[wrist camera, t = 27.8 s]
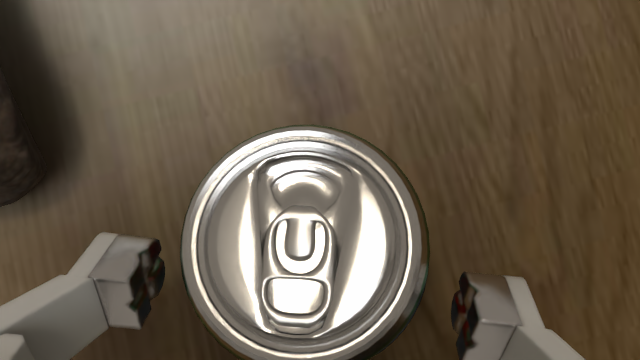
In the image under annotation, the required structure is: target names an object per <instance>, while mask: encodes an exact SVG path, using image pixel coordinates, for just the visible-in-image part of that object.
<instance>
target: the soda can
mask: <svg viewBox="0 0 640 360" xmlns="http://www.w3.org/2000/svg"><path fill="white" fill-rule="evenodd" d="M429 257H430V245H429V231H428V227H427V222H426V218H425V213H424V211H423V208H422V205H421V203H420V200H419V198H418V195H417V193H416V192H415V190H414V188H413V186H412V185H411V183H410V181H409V180H408V178H407V177H406V175H405V174H404V173H403V172H402V170H401V169H400V168H399V167H398V166H397V164H396V163H395V162H394V161H393V160H392V159H390V158H389V157H388V156H387V155H386V154H385V153H384V152H383V151H382V150H380V149H379V148H377V147H376V146H374V145H373V144H371V143H370V142H368V141H367V140H365V139H362V138H360V137H358V136H356V135H354V134H352V133H350V132H346V131H343V130H339V129H336V128H332V127H326V126H319V125H292V126H286V127H280V128H275V129H272V130H269V131H266V132H263V133H260V134H257V135H255V136H253V137H251V138H249V139H247V140H245V141H243V142H242V143H240V144H239V145H237V146H236V147H234V148H233V149H232V150H230V151H229V152H227V153H226V154H225V155H224V156H223V157H222V158H221V159H220V160H219V161H218V162H217V163H216V164H215V165H214V166H213V167H212V168H211V169H210V171H209V172H208V173H207V174H206V176H205V177H204V178H203V180H202V181H201V182H200V184H199V186H198V188H197V190H196V192H195V193H194V195H193V197H192V199H191V202H190V204H189V207H188V210H187V213H186V215H185V219H184V224H183V229H182V234H181V247H180V260H181V269H182V277H183V280H184V284H185V288H186V291H187V295H188V297H189V299H190V302H191V304H192V306H193V308H194V310H195V313H196V314H197V316H198V317H199V319H200V320H201V322H202V323H203V325H204V326H205V328H206V329H207V331H208V332H209V333H210V334H211V335H212V336H213V337H214V338H215V339H216V340H217V342H218V343H219V344H220V345H221V346H223V347H224V348H225V349H227V350H228V351H229V352H230V353H232V354H233V355H234V356H236V357H237V358H239V359H241V360H368V359H369V358H371V357H373V356H375V355H376V354H377V353H378V352H379V351H381V350H382V349H383V348H384V347H386V346H387V345H388V344H389V343H390V342H391V341H392V340H393V339H394V338H395V337H396V336H397V335H398V334H399V333H400V331H401V330H402V329H403V328H404V327H405V325H406V323H407V322H408V320H409V319H410V317H411V316H412V314H413V313H414V311H415V309H416V307H417V304H418V302H419V300H420V298H421V295H422V293H423V290H424V286H425V282H426V278H427V274H428V267H429Z"/></svg>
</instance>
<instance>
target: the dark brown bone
mask: <svg viewBox="0 0 640 360" xmlns="http://www.w3.org/2000/svg"><path fill="white" fill-rule="evenodd" d="M45 173H46V164H45V161H44V159H43V157H42V155H41V153H40V151H39V149H38V147H37V145H36V143H35V141H34V139H33V137H32V135H31V133H30V131H29V129H28V127H27V124H26V122H25V121H24V119H23V117H22V115H21V112H20V110H19V108H18V106H17V103H16V102H15V100H14V98H13V95H12V93H11V91H10V89H9V86H8V84H7V82H6V80H5V77H4V75H3V72H2V69H1V67H0V207H2V206H5V205H8V204H11V203H14V202H15V201H17V200H19V199H20V198H22V197H23V196H24V195H26V194H27V193H28V192H29V191H30V190H31V189H33V188H34V187H35V186H36V184H37V183H38V182H39V181H40V180H41V179H42V178H43V176H44V175H45Z"/></svg>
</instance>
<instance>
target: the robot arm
mask: <svg viewBox="0 0 640 360" xmlns="http://www.w3.org/2000/svg"><path fill="white" fill-rule="evenodd" d="M160 251H161V245H160V241H159V240H158V239H155V238H148V237H140V236H132V235H125V234H114V233H107V232H102V233H100V234H98V235H97V236H96V237H95V239H94V240H93V241H92V242H91V244H90V245H89V246H88V248H87V249H86V250H85V251H84V253H83V254H82V255H81V257H80V258H79V259H78V260H77V262H76V263H75V264H74V266H73V267H72V268H71V270H70V271H69V272H68V273H67V275H59V276H57V277H55V278H53V279H51V280H50V281H48V282H46V283H44V284H42V285H40V286H38V287H36V288H34V289H32V290H30V291H29V292H27V293H25V294H23V295H21V296H19V297H17V298H15V299H13V300H11V301H10V302H8V303H6V304H4V305H2V306H0V360H70V359H71V358H72V357H73V356H75V355H76V354H77V353H78V352H80V351H81V350H82V349H83V348H85V347H86V346H87V345H88V344H90V343H91V342H92V341H94V340H95V339H96V338H97V337H99V336H100V335H101V334H102V333H104V332H105V331H106V330H107V329H109V327H119V328H131V329H141V328H142V326H143V324H144V322H145V320H146V318H147V316H148V314H149V312H150V310H151V305H150V300H152V299H153V298H155V297H156V296H158V295H159V292H160V290H161V288H162V286H163V282H164V278H165V265H164V261H163V260H162V259H161V258H160V257H159V256H158V255H159V253H160ZM459 285H460V290H459V291H458V292H456V293H455V294H454V298H453V301H452V308H451V319H452V326H453V329H454V330H455V331H456V333H457V334H458V335H459V337H458V339H457V342H456V347H457V351H458V356H459V360H585V359H584V358H583V357H582V356H581V355H580V354H579V353H577V352H576V351H575V350H574V349H573V348H572V347H571V346H569V345H568V344H567V343H566V342H565V341H564V340H563V339H562V338H560V337H559V336H558V335H557V334H556V333H555V332H554V331H552V330H550V329H545V326H544V324H543V321H542V319H541V316H540V314H539V312H538V309H537V307H536V304H535V302H534V299H533V297H532V295H531V292H530V290H529V287H528V285H527V282H526V280H525V279H524V278H523V277H514V276H504V275H503V276H501V275H493V274H483V273H473V272H463V274H462V275H461V277H460V280H459Z"/></svg>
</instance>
